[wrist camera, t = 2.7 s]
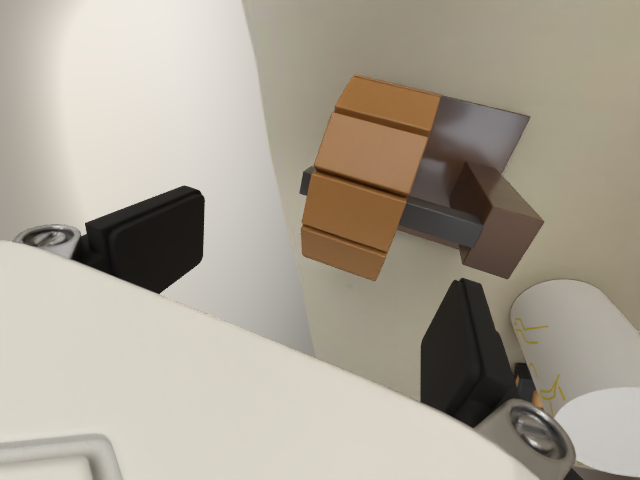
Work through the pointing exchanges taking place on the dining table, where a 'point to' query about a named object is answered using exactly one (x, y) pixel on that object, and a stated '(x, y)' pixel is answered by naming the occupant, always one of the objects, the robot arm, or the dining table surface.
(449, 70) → the dining table surface
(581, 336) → the cup
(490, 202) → the hook stand
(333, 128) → the segmented brown cylinder
